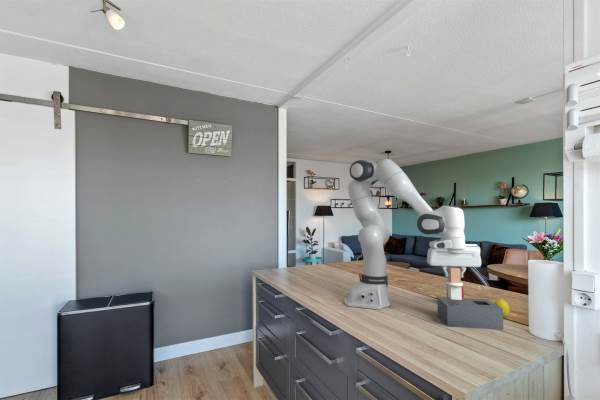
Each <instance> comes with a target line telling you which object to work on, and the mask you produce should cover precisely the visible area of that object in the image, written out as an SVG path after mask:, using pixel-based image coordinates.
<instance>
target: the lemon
mask: <svg viewBox="0 0 600 400" xmlns="http://www.w3.org/2000/svg"><path fill="white" fill-rule="evenodd" d="M493 303H494V304H496V305H498V306H499V307H501V308H503V319H504V318H506V317H508V316H509V314H510V313H511V312H510V306H509V304H508V302H507V301H505V300H503V299H502V298H499V299H497V300H495V302H493Z"/></svg>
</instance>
